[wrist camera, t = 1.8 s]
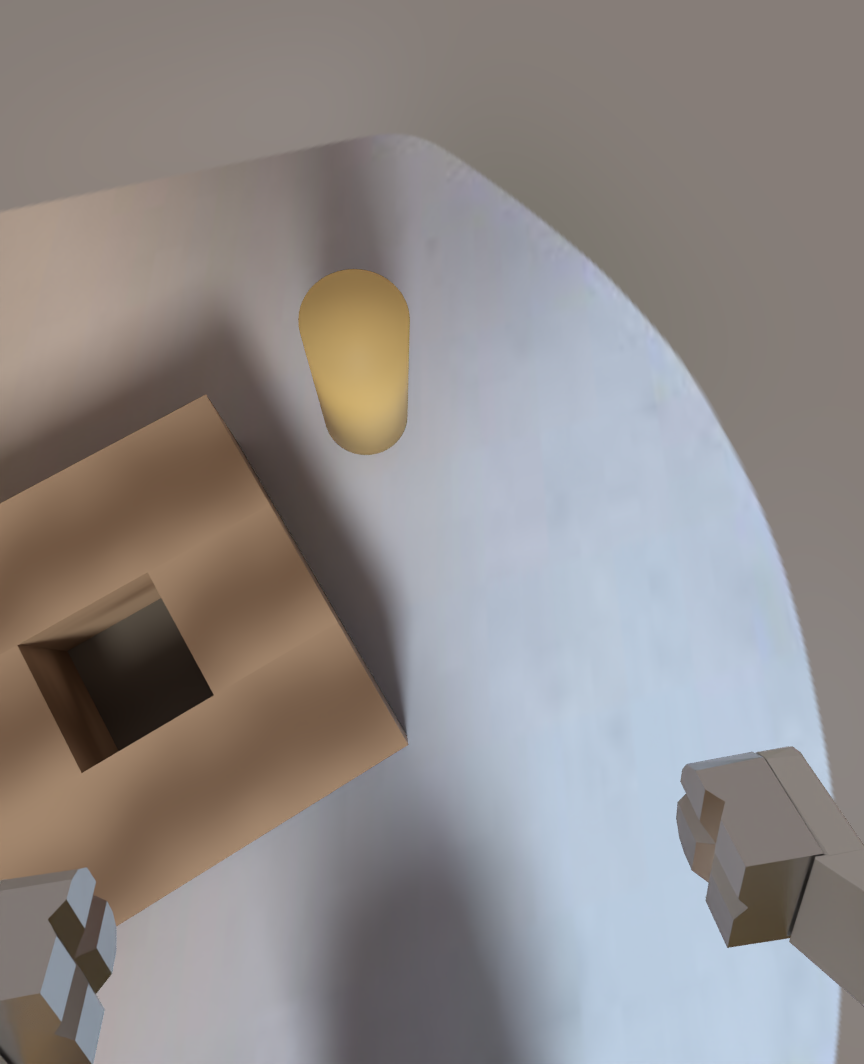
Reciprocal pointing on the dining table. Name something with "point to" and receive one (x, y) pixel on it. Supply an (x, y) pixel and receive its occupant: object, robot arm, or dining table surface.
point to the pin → (358, 357)
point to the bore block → (166, 667)
